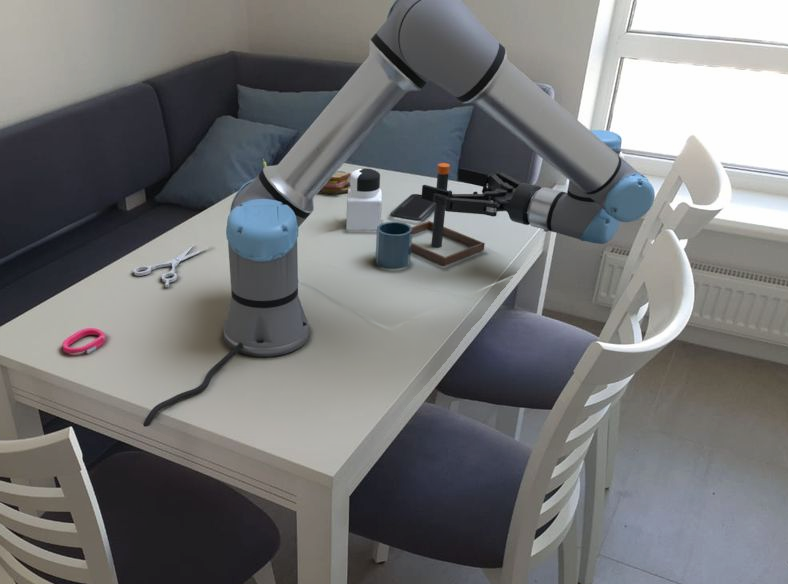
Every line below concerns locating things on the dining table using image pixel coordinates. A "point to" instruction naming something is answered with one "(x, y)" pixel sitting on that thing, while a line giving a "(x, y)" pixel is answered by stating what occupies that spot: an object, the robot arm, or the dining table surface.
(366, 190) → the container
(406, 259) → the pen cup
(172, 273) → the scissors
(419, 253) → the tray
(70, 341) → the fitness band
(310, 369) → the dining table surface
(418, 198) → the phone
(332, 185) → the toy sandwich meal
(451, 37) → the robot arm
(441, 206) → the marker
